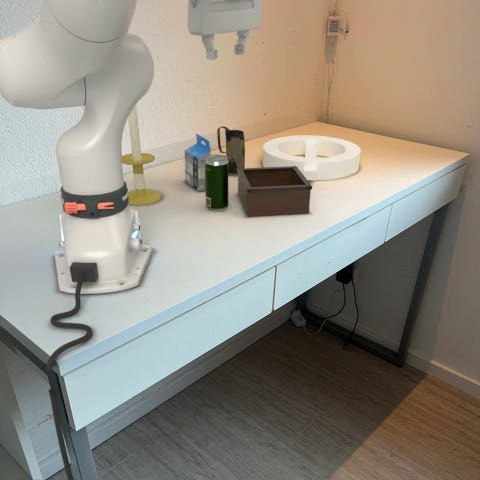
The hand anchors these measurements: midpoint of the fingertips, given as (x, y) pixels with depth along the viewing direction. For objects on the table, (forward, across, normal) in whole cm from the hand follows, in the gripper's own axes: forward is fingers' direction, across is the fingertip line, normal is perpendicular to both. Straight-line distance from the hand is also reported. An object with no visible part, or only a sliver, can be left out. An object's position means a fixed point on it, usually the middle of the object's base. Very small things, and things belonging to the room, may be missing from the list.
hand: (226, 56), depth 110 cm
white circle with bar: (+32, +39, -1) cm, 50 cm away
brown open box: (+32, +6, -10) cm, 34 cm away
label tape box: (+32, +4, +13) cm, 35 cm away
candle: (+32, -11, +19) cm, 39 cm away
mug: (+32, +19, +13) cm, 40 cm away
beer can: (+32, -5, -1) cm, 33 cm away
